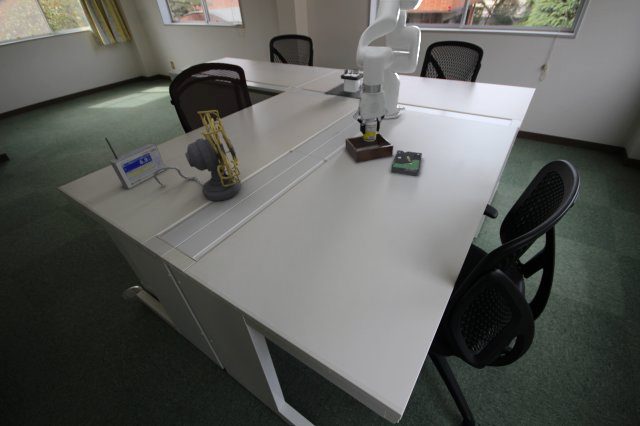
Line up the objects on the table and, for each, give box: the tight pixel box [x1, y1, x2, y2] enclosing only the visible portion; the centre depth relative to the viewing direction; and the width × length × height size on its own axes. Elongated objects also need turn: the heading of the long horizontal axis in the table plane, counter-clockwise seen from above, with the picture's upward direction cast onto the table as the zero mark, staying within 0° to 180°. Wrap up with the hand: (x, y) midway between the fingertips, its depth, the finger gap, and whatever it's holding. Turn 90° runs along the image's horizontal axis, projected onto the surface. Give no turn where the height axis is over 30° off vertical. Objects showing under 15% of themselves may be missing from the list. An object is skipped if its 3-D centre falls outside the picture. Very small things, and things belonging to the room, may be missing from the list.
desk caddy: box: [344, 132, 394, 164], centre depth 129 cm, size 17×14×5 cm
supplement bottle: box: [362, 118, 377, 141], centre depth 124 cm, size 6×6×10 cm
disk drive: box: [390, 149, 423, 176], centre depth 119 cm, size 10×3×15 cm
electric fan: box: [153, 109, 242, 202], centre depth 101 cm, size 26×32×30 cm
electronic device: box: [105, 137, 167, 190], centre depth 116 cm, size 17×7×20 cm, turn 148°
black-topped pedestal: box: [325, 68, 363, 99], centre depth 198 cm, size 28×26×13 cm
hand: (369, 131), depth 125 cm, fingers closed on supplement bottle, 5 cm apart
